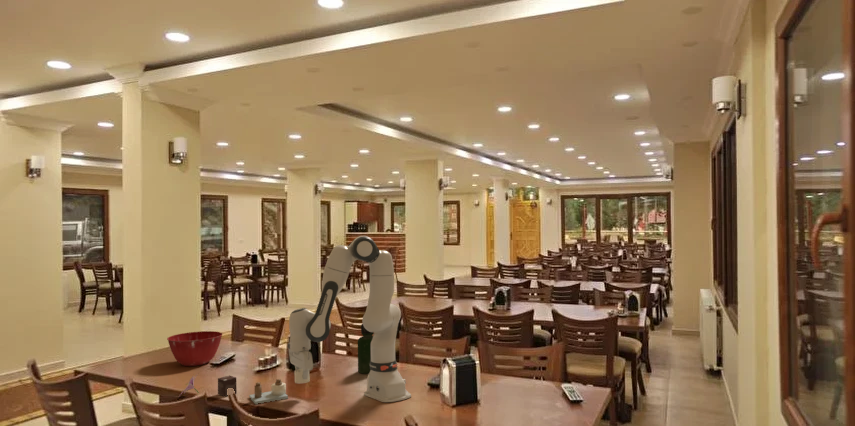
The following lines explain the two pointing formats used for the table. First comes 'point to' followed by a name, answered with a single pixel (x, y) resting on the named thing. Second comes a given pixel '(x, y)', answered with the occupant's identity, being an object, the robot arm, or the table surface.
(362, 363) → the spray bottle
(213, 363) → the table surface
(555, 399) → the table surface
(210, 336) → the mixing bowl
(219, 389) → the box
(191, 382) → the lily
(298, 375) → the ring
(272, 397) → the stand
